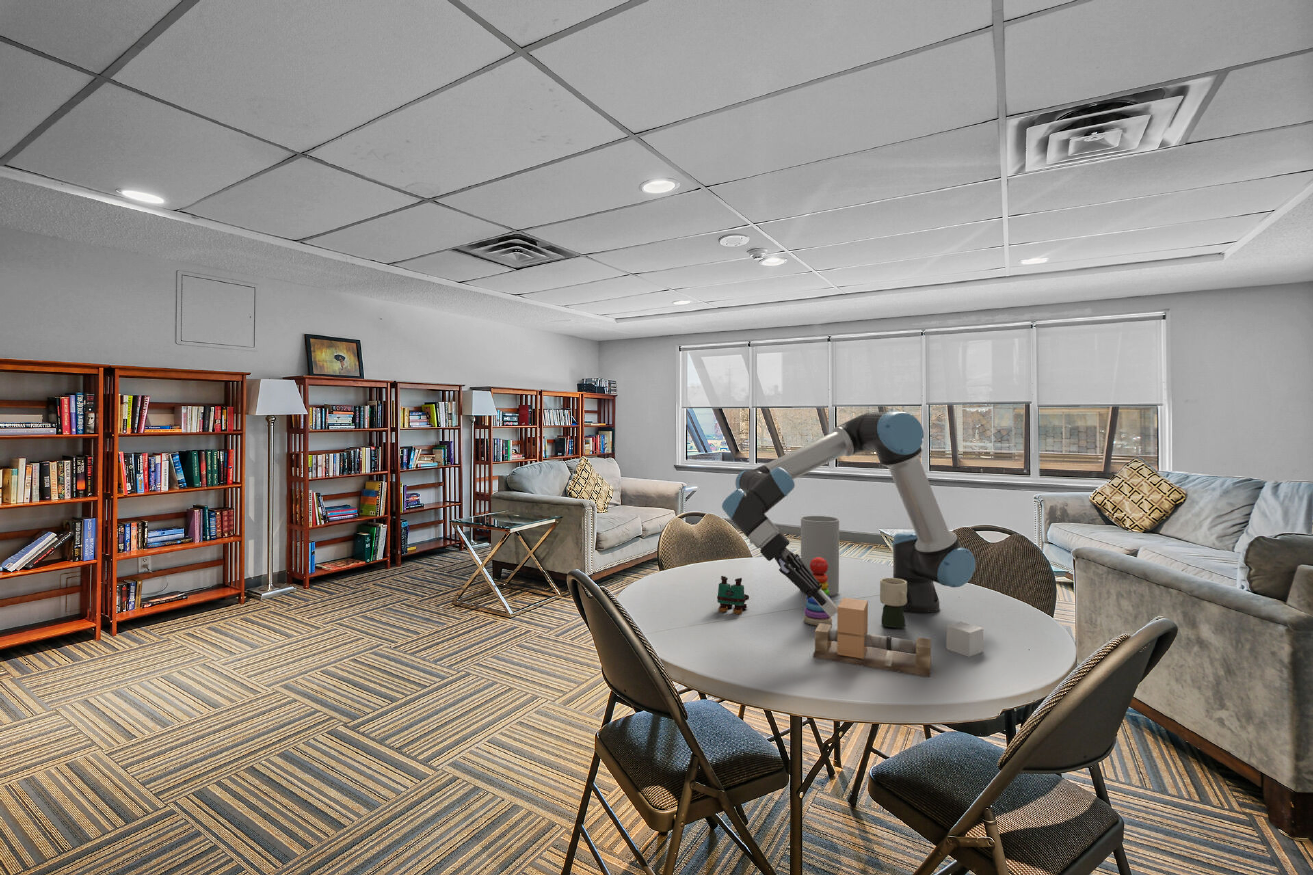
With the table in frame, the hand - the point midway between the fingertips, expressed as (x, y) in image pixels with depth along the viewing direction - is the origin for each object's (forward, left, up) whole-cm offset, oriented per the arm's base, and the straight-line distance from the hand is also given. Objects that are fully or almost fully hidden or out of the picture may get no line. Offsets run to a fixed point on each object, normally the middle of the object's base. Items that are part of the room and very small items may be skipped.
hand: (834, 613), depth 148 cm
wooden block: (-4, +2, -9) cm, 10 cm away
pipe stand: (-8, +4, -10) cm, 13 cm away
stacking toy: (-4, -23, -10) cm, 25 cm away
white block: (-34, 0, -11) cm, 35 cm away
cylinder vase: (-15, -53, -10) cm, 56 cm away
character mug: (-24, -18, -10) cm, 32 cm away
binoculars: (+18, -37, -10) cm, 43 cm away
